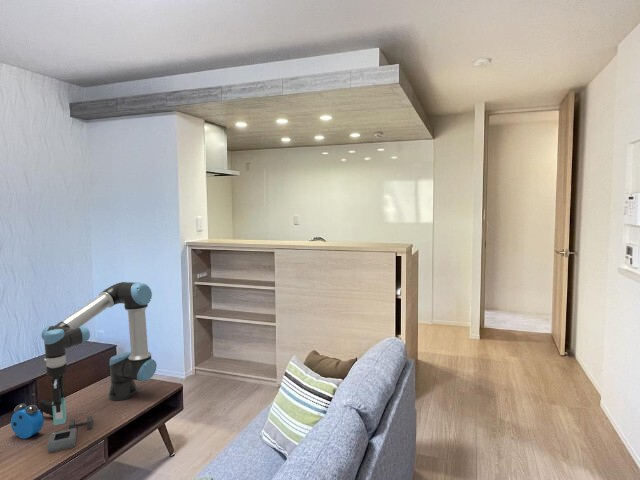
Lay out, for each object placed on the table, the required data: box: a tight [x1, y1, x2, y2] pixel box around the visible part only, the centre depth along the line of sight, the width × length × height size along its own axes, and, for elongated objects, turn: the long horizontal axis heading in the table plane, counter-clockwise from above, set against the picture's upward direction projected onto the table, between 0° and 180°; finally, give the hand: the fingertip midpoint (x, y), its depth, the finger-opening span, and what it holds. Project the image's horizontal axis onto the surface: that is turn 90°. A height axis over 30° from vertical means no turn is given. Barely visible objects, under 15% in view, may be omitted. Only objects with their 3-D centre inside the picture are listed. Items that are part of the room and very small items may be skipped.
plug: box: [51, 396, 68, 426], centre depth 186 cm, size 4×4×11 cm
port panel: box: [46, 427, 78, 454], centre depth 187 cm, size 10×10×4 cm
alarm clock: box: [10, 403, 45, 439], centre depth 195 cm, size 13×6×15 cm, turn 75°
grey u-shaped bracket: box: [67, 415, 94, 431], centre depth 201 cm, size 9×7×4 cm
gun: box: [38, 399, 53, 418], centre depth 211 cm, size 3×16×10 cm, turn 79°
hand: (60, 415), depth 186 cm, fingers closed on plug, 4 cm apart
